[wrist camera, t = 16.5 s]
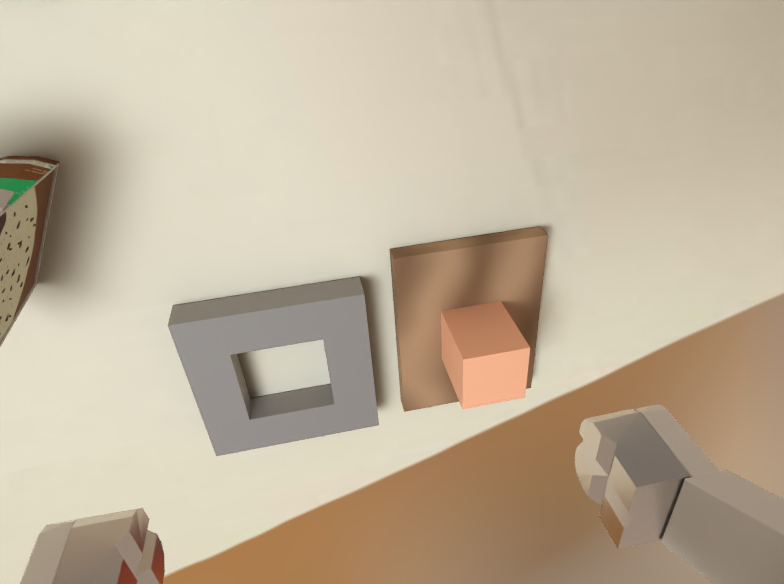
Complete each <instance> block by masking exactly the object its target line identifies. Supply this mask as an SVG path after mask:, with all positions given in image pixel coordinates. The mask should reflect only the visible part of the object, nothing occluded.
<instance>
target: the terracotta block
mask: <svg viewBox="0 0 784 584" xmlns="http://www.w3.org/2000/svg"><path fill="white" fill-rule="evenodd" d="M441 343H442V360H443V363H444V365H445V368H446V370H447V373H448V375H449V377H450V380H451V382H452V385H453V387H454V390H455V392H456V394H457V397H458V399H459V402H460V404H461V407H462V409H467V408H472V407H477V406H482V405H488V404H493V403H498V402H503V401H508V400H514V399H519V398H524V397H525V393H526V384H527V374H528V364H529V355H530V346H529V345H528V343H527V342H526V340H525V339H524V337H523V335H522V334H521V332H520V331H519V329H518V327H517V326H516V324H515V323H514V321H513V320H512V318H511V316H510V315H509V313H508V312H507V310H506V309H505V307H504V305H503V304H502V302H501V301H499V302H493V303H487V304H481V305H475V306H469V307H463V308H457V309H451V310H445V311H441Z"/></svg>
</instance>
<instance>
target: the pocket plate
mask: <svg viewBox="0 0 784 584" xmlns="http://www.w3.org/2000/svg"><path fill="white" fill-rule="evenodd" d="M168 327H169V330H170V333H171V335H172V338H173V341H174V343H175V346H176V349H177V351H178V354H179V357H180V359H181V362H182V365H183V368H184V370H185V373H186V376H187V378H188V381H189V384H190V386H191V389H192V392H193V394H194V397H195V400H196V403H197V405H198V408H199V411H200V413H201V416H202V419H203V421H204V424H205V427H206V429H207V432H208V435H209V438H210V440H211V443H212V446H213V448H214V451H215V454H216V456H220V455H225V454H230V453H236V452H241V451H246V450H251V449H256V448H262V447H267V446H272V445H277V444H283V443H288V442H293V441H298V440H304V439H309V438H314V437H319V436H325V435H330V434H335V433H340V432H346V431H351V430H356V429H361V428H367V427H372V426H377V425H379V422H378V413H377V404H376V395H375V386H374V377H373V368H372V359H371V350H370V341H369V331H368V322H367V313H366V304H365V295H364V291H363V287H362V284H361V280H360V276H359V277H353V278H346V279H340V280H333V281H327V282H321V283H314V284H308V285H301V286H295V287H289V288H282V289H276V290H269V291H263V292H257V293H250V294H244V295H237V296H231V297H225V298H218V299H212V300H205V301H199V302H193V303H186V304H180V305H173V307H172V311H171V315H170V319H169V323H168ZM321 339H323V340H324V346H325V352H326V358H327V364H328V370H329V375H330V381H331V384H328V385H322V386H316V387H311V388H305V389H300V390H294V391H289V392H283V393H277V394H272V395H266V396H261V397H255V398H250V396H249V392H248V389H247V385H246V382H245V379H244V375H243V372H242V368H241V365H240V361H239V358H238V355H237V354H238V353H244V352H250V351H256V350H262V349H268V348H274V347H280V346H286V345H292V344H297V343H303V342H309V341H315V340H321Z"/></svg>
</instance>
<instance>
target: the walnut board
mask: <svg viewBox="0 0 784 584" xmlns="http://www.w3.org/2000/svg"><path fill="white" fill-rule="evenodd" d="M547 239H548V235H547V234H546V233H545V232H544V230H543V229H542V228H541V227H540V226H539V227H533V228H526V229H520V230H513V231H506V232H500V233H493V234H486V235H480V236H473V237H467V238H460V239H453V240H447V241H440V242H433V243H427V244H420V245H414V246H407V247H400V248H394V249H390V260H391V274H392V287H393V301H394V314H395V327H396V341H397V354H398V368H399V381H400V394H401V402H402V405H403V409H404V412H405V411H411V410H416V409H421V408H426V407H432V406H437V405H442V404H448V403H453V402H458V401H459V399H458V397H457V394H456V392H455V390H454V387H453V385H452V382H451V380H450V377H449V375H448V373H447V370H446V368H445V365H444V363H443V360H442V343H441V311H445V310H451V309H457V308H463V307H469V306H475V305H481V304H487V303H493V302H499V301H501V302H502V304H503V305H504V307H505V309H506V310H507V312H508V313H509V315H510V316H511V318H512V320H513V321H514V323H515V324H516V326H517V327H518V329H519V331H520V332H521V334H522V335H523V337H524V339H525V340H526V342H527V343H528V345H529V346H530V355H529V364H528V374H527V384H526V389H527V388H531V382H532V373H533V365H534V356H535V347H536V338H537V329H538V320H539V311H540V302H541V293H542V284H543V275H544V266H545V257H546V248H547Z"/></svg>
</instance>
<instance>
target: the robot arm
mask: <svg viewBox="0 0 784 584" xmlns="http://www.w3.org/2000/svg"><path fill="white" fill-rule="evenodd" d="M579 433H580V435H581V436H582V438H583V439H584V441H583V442H582V443H581V444H580V445H579V446H578V447H577V448H576V453H575V465H576V472H577V475H578V478H579V481H580V483H581V485H582V487H583V489H584V491H585V493H586V494H587V496H588V497H589V498H591V499H592V500H594V501H596V502H597V503H599V504H600V505H601V509H600V515H599V518H600V519H601V521H602V523H603V524H604V526H605V528H606V530H607V531H608V533H609V535H610V537H611V538H612V540H613V542H614V543H615V545H616V547H617V549H620V548H626V547H631V546H636V545H640V544H645V543H651V542H655V541H660V540H662V541H661V543H662V544H663V545H664V546H665V547H667V548H668V549H669V550H671V551H672V552H673V553H675V554H676V555H677V556H678V557H680V558H681V559H682V560H684V561H685V562H686V563H688V564H689V565H690V566H692V567H693V568H694V569H696V570H697V571H698V572H700V573H701V574H702V575H704V576H705V577H706V578H707V579H709V580H710V581H711V582H713V583H714V584H784V499H782V498H780V497H779V496H777V495H774V494H773V493H771V492H769V491H767V490H765V489H763V488H761V487H759V486H757V485H755V484H753V483H751V482H750V481H748V480H746V479H744V478H742V477H740V476H738V475H736V474H734V473H732V472H730V471H728V470H723V471H719V470H718V469H717V468H716V467H715V465H714V464H713V463H712V462H711V461H710V459H709V458H708V457H707V456H706V455H705V454H704V452H703V451H702V450H701V449H700V448H699V447H698V445H697V444H696V443H695V442H694V441H693V439H692V438H691V437H690V436H689V435H688V434H687V432H686V431H685V430H684V429H683V428H682V427H681V426H680V424H679V423H678V422H677V421H676V420H675V418H674V417H673V416H672V415H671V414H670V413H669V411H668V410H667V409H666V408H665V407H663V406H661V405H659V404H658V405H653V406H647V407H643V408H638V409H634V410H632V409H629V410H625V411H620V412H616V413H611V414H606V415H601V416H597V417H592V418H587V419H585V420H584V421H583V422H582V423H581V427H580V431H579ZM148 523H149V518H148V516H147V515H146V513H145V511H144V510H143V508H140V509H134V510H128V511H122V512H116V513H111V514H105V515H99V516H93V517H87V518H82V519H76V520H71V521H65V522H60V523H55V524H50V525H46V526H45V528H44V529H43V530H42V531H41V533H40V534H39V535H38V537H37V540H36V543H35V545H34V548H33V551H32V553H31V556H30V558H29V561H28V564H27V566H26V569H25V572H24V574H23V577H22V579H21V582H20V584H163V579H164V572H165V569H164V552H163V548H162V544H161V541H160V539H159V537H158V535H157V534H156V533H153V532H151V531H149V530H147V528H148Z"/></svg>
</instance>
